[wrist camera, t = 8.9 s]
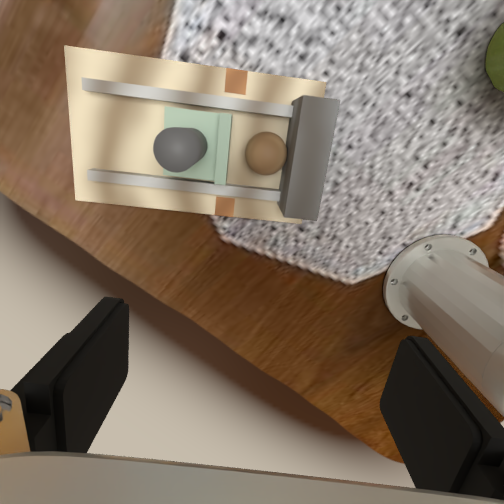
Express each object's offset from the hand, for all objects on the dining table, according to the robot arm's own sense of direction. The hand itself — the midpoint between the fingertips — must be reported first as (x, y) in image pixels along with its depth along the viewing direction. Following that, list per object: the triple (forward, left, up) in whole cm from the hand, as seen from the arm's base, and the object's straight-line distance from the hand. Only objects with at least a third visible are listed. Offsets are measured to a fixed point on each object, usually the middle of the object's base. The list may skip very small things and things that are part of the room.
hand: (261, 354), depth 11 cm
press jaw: (+5, -5, -25) cm, 26 cm away
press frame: (+6, -5, -27) cm, 28 cm away
